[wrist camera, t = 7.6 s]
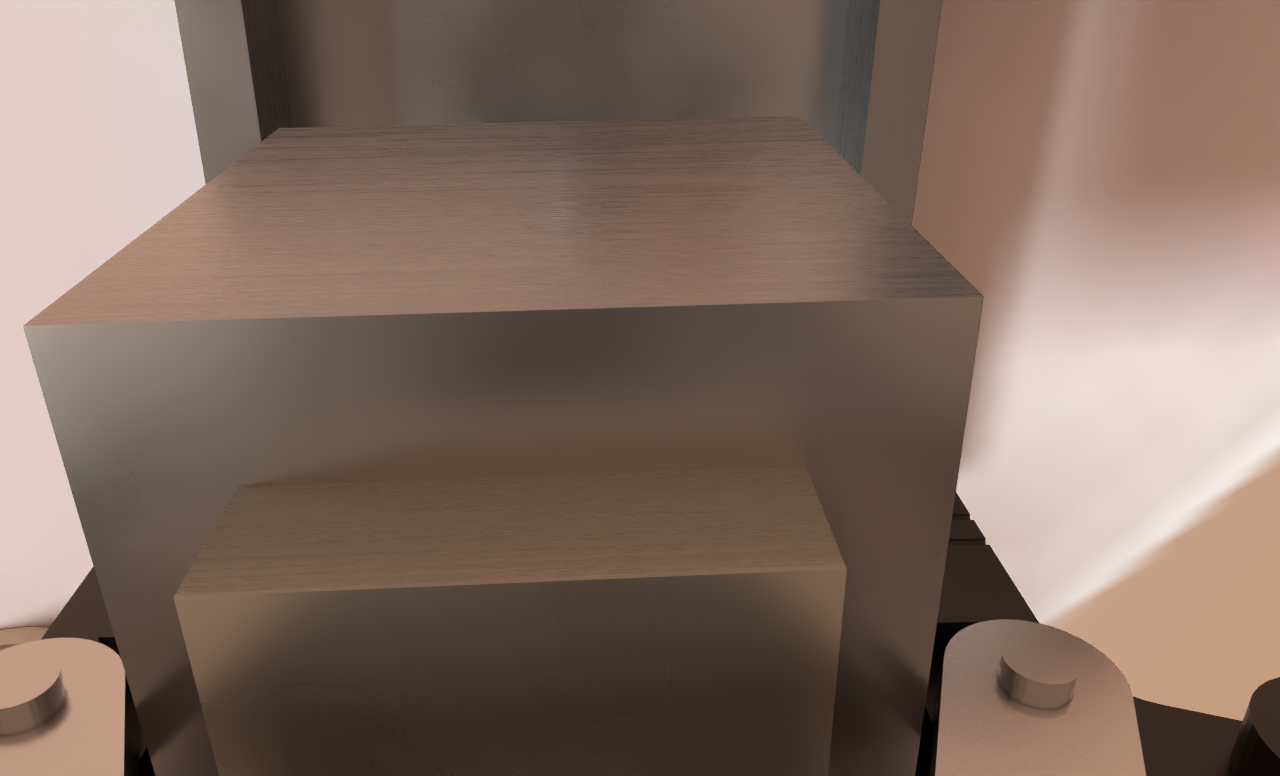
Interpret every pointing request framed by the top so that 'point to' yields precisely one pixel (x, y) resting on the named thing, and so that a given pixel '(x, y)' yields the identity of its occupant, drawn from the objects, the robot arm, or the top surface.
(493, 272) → the stepped two-tone block
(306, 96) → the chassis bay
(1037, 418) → the top surface
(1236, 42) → the top surface
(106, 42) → the top surface
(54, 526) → the top surface
